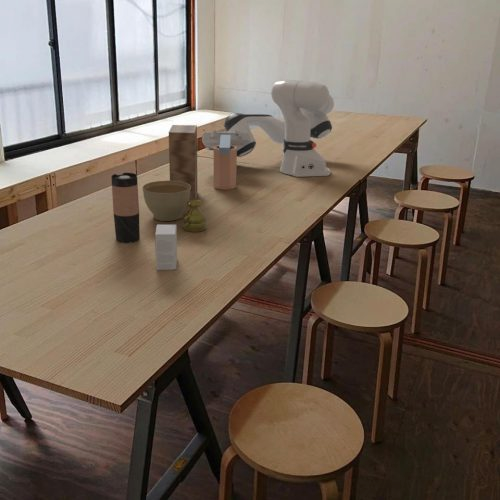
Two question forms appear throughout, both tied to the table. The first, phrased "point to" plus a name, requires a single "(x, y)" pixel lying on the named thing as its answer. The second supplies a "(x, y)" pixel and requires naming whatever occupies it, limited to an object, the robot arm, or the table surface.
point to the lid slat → (224, 144)
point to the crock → (225, 169)
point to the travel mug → (126, 207)
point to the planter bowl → (167, 199)
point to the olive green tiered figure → (194, 217)
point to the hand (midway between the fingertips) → (226, 132)
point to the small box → (166, 247)
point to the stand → (184, 155)
